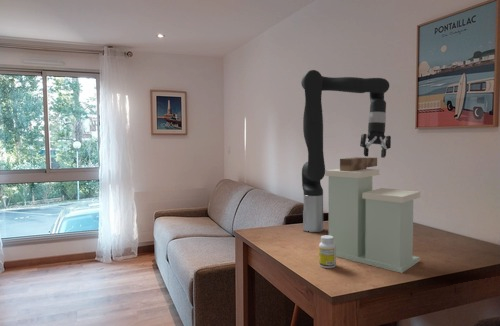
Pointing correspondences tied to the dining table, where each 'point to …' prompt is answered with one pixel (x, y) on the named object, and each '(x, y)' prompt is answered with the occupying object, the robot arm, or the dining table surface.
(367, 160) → the walnut leg
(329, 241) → the supplement bottle
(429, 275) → the dining table surface
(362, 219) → the step stand
